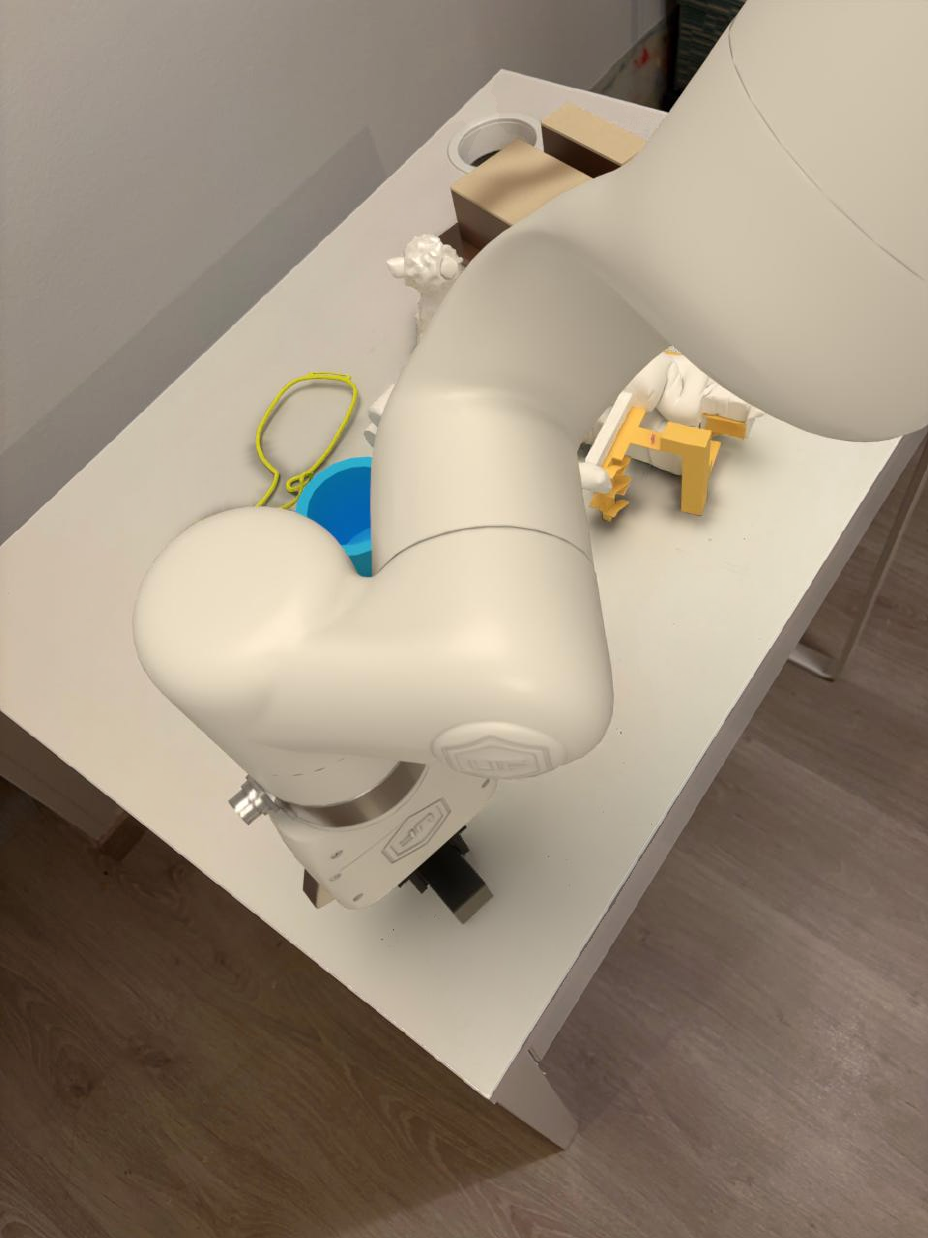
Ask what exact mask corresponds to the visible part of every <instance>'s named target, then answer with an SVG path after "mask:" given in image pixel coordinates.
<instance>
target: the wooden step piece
mask: <svg viewBox="0 0 928 1238" xmlns="http://www.w3.org/2000/svg"><path fill="white" fill-rule="evenodd" d="M540 128H541V138H542V146H543V147H542V148H543V152H544V153H546V154H548V155H550V156H552V157H554V158H556V159H558V160H559V161H561V162H563V163H565V164H567V165H569V166H571V167H572V168H574V169H576V170H578V171H580V172H582V173H584V174H586V175H587V176H589V177H591V178H593V179H594V178H596V177H599V176H601V175H604V174H607V173H610V172H612V171H614V170H616V169H618V168H620V167H622V166H624V165H625V164H627V163H628V162H629V161H630V160H631V159H632V158H633V157H634V156H635V155H636V154H637V153H638V152H639V151H640V150H641V149H642V147H643V146H644V145H645V143H646V142H647V141H648V139H645V138H644V137H642V136H639V135H637V134H636V133H633V132H631V131H629V130H626V128H625V129H624V128H623V127H620V126H619V125H616V124H615V123H612V122H610V121H608V120H607V119H604V118H603V117H600V116H598V115H596V114H594V113H592V112H590V111H588V110H586V109H584V108H582V107H580V106H577V105H575V104H574V103H572V102H570V101H568V102H566V103H565V104H564V105H562V106H561V107H559V108H558V109H556V110H554V111H553V112H552V113H551V114H549V115H548V116H546V117H545V118H544V119H542V120H541V121H540Z"/></svg>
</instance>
